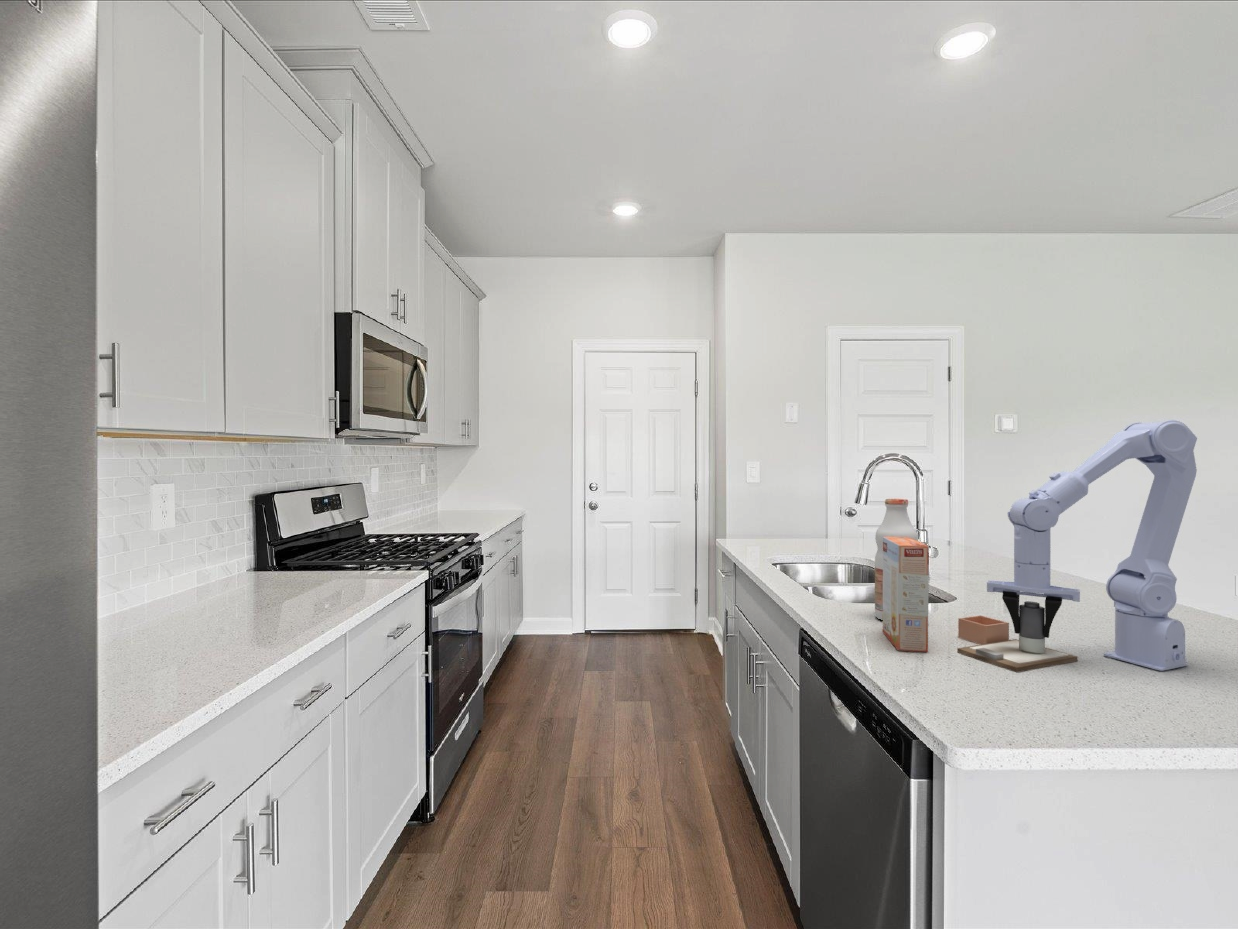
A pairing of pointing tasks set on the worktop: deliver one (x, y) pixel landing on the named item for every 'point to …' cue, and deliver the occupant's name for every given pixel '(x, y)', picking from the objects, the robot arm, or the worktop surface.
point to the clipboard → (1015, 656)
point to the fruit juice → (891, 526)
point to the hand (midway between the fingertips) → (1031, 634)
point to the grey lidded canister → (1031, 627)
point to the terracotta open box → (983, 629)
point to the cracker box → (905, 593)
